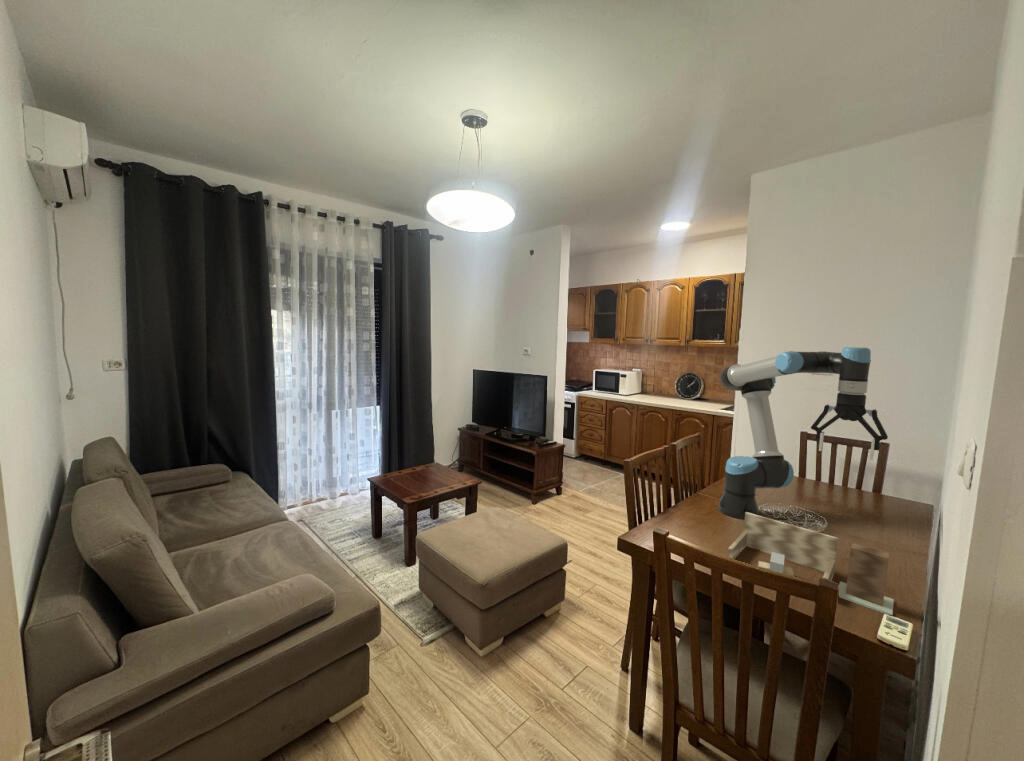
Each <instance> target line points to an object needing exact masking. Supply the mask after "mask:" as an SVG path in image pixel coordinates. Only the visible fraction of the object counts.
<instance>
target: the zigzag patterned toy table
mask: <svg viewBox="0 0 1024 761" xmlns="http://www.w3.org/2000/svg"><path fill="white" fill-rule="evenodd" d="M743 522H744V523H743V524H744V525H743V532H742V533H741V534H740V535H738V537H737V538H736V539H735V540H734V541H733V542H732V544H731V545H729V546H728V548H727V558H732V559H735V560H736V559H737V558H735V557H739V555H740V554H741V553H742V552H743V551H744V550H745V548H747V546H748V548H751V549H754V550H756V549H757V551H759V550H760V552H762V551H763V553H765V554H768V555H771V553H772V552H775V553H779V554H782V555H785V558H784V560H786V561H789V562H793V563H796V564H798V565H801V566H804V567H808V568H810V569H813V570H816V571H819V572H823V573H824V574H823V576H822V578H826V579H829V580H832V581H833V578H834V575H835V572H836V571H835V569H836V559H837V553H838V552H837V551H838V540H839V538H838V537H837V536H833V535H830V534H829V535H828V534H826V533H822V532H819V531H816V530H812V529H809V528H804V527H802V526H799V525H794V524H790V523H786V522H783V521H779V520H776V519H773V518H770V517H765V516H763V515H760V514H759V515H755V514H752V513H748V512H746V513H745V519H744V521H743ZM742 550H743V551H742ZM740 552H741V553H740Z"/></svg>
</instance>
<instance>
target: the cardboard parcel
mask: <svg viewBox="0 0 1024 761" xmlns="http://www.w3.org/2000/svg"><path fill="white" fill-rule="evenodd" d="M849 552H850V553H849V559H848V560H849V562H848V572H847V579H846V583H847V587H846V594H849V595H851V596H854V597H857V598H860V599H863V600H866V601H868V602H871V603H874V604H877V605H880V606H883V601H884V596H885V592H886V585H887V584H886V583H887V576H888V568H889V559H890V552H886V551H883V550H879V549H876V548H872V547H869V546H864V545H861V544H858V543H854V542H852V544H851V546H850V551H849Z"/></svg>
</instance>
